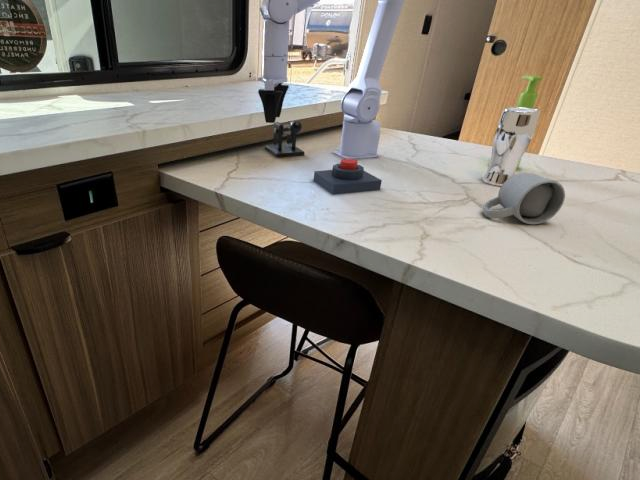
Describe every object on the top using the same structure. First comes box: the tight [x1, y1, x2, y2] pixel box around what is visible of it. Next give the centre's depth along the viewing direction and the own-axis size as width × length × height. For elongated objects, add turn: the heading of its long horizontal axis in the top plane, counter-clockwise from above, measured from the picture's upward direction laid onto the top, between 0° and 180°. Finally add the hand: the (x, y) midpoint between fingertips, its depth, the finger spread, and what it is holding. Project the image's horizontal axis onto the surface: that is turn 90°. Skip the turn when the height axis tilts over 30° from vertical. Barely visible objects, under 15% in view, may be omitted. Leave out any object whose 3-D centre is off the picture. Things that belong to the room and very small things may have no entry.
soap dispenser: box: [515, 75, 543, 171], centre depth 98 cm, size 6×7×20 cm
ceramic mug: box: [482, 172, 566, 225], centre depth 74 cm, size 11×8×8 cm
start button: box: [339, 158, 359, 170], centre depth 89 cm, size 4×4×2 cm
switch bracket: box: [264, 120, 305, 159], centre depth 113 cm, size 10×8×8 cm
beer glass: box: [482, 106, 541, 187], centre depth 89 cm, size 7×7×15 cm
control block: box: [313, 163, 383, 196], centre depth 90 cm, size 11×10×4 cm
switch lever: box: [282, 120, 303, 136], centre depth 109 cm, size 11×3×3 cm, turn 15°
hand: (272, 119), depth 102 cm, fingers open, 7 cm apart
